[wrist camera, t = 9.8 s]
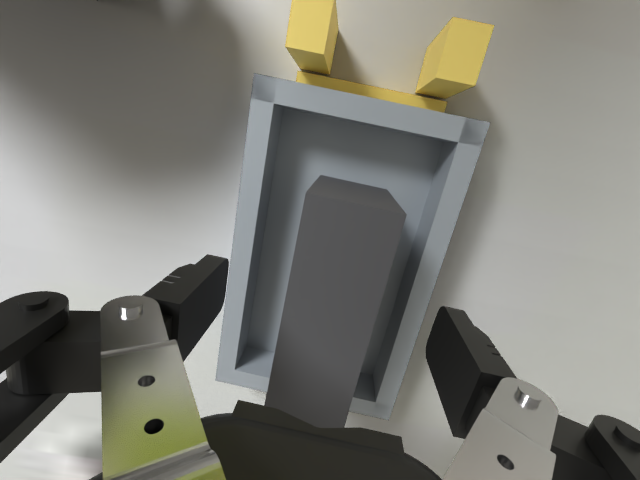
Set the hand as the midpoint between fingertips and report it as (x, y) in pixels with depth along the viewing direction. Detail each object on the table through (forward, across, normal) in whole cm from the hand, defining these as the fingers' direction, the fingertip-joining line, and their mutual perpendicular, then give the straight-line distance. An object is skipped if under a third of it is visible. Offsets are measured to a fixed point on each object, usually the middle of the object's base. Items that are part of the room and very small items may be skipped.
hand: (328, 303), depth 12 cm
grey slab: (+6, 0, +1) cm, 6 cm away
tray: (+7, 0, 0) cm, 7 cm away
